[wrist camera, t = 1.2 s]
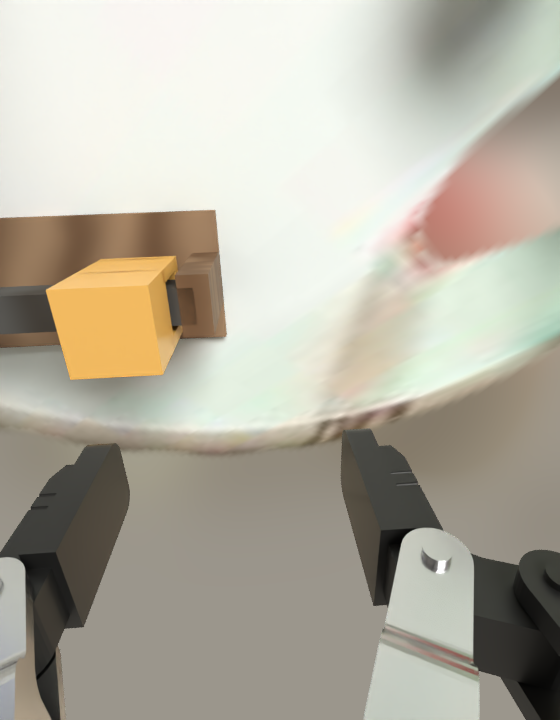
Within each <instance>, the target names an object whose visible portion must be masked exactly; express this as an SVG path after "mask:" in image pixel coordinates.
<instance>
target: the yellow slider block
mask: <svg viewBox="0 0 560 720" xmlns="http://www.w3.org/2000/svg"><path fill="white" fill-rule="evenodd" d="M177 272H178V268H177V260H176V256H163V257H139V258H115V259H100V260H98V261H97V262H95V263H93V264H91V265H89V266H88V267H86V268H84V269H82V270H80V271H79V272H77V273H75V274H73V275H72V276H70V277H68V278H66V279H64V280H63V281H61V282H59V283H57V284H55V285H54V286H52V287H50V288H48V289H46V293H47V297H48V300H49V304H50V308H51V311H52V315H53V318H54V322H55V326H56V329H57V333H58V336H59V340H60V344H61V347H62V351H63V355H64V358H65V362H66V365H67V369H68V373H69V376H70V380H75V379H94V378H113V377H132V376H151V375H163V374H164V371H165V369H166V367H167V365H168V363H169V360H170V358H171V356H172V354H173V352H174V350H175V347H176V345H177V343H178V341H179V339H180V336H181V334H182V332H183V331H182V326H172V324H171V317H170V310H169V304H168V297H167V290H166V284H165V282H166V281H167V280H175V274H176V273H177Z"/></svg>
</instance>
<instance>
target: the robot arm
mask: <svg viewBox="0 0 560 720" xmlns="http://www.w3.org/2000/svg"><path fill="white" fill-rule="evenodd" d="M341 485H342V492H343V497H344V500H345V504H346V508H347V511H348V515H349V518H350V522H351V526H352V529H353V533H354V536H355V540H356V544H357V547H358V551H359V555H360V558H361V562H362V566H363V569H364V573H365V576H366V580H367V584H368V587H369V591H370V595H371V598H372V602H373V605H374V606H378V605H387V606H388V612H387V618H386V622H385V627H384V629H383V630H382V633H381V638H380V642H379V646H378V651H377V656H376V661H375V666H374V670H373V676H372V681H371V685H370V690H369V695H368V699H367V704H366V709H365V714H364V719H363V720H479V672H478V671H481V672H485V673H489V674H492V675H496V676H499V677H501V679H502V680H503V682H504V684H505V686H506V687H507V689H508V690H509V692H510V694H511V696H512V697H513V699H514V701H515V702H516V704H517V706H518V707H519V709H520V711H521V712H522V714H523V716H524V717H525V719H526V720H560V553H557V552H554V551H548V550H534V551H530V552H528V553H526V554H525V555H524V556H523V557H522V558H521V560H520V562H519V565H514V564H509V563H505V562H500V561H495V560H490V559H486V558H481V557H478V556H476V555H473V554H471V553H470V552H469V550H468V549H467V547H466V546H465V545H464V544H463V543H462V542H461V541H460V540H459V539H457V538H456V537H454V536H453V535H451V534H449V533H447V532H445V531H443V528H442V527H441V525H440V523H439V521H438V519H437V517H436V515H435V513H434V511H433V510H432V508H431V506H430V504H429V502H428V500H427V498H426V497H425V494H424V493H423V491H422V489H421V487H420V485H418V481H417V479H416V478H415V476H414V474H413V473H412V470H411V468H410V466H409V464H408V462H407V461H406V459H405V457H404V456H403V455H402V454H401V453H399V452H398V451H397V450H396V449H395V448H393V447H392V446H390V445H389V446H378V444H377V441H376V439H375V437H374V435H373V433H372V431H371V429H353V430H343V434H342V455H341ZM129 499H130V490H129V484H128V481H127V477H126V472H125V468H124V464H123V460H122V455H121V451H120V448H119V446H118V445H117V444H116V443H114V444H98V445H87V446H86V447H85V448H84V450H83V451H82V453H81V455H80V456H79V458H78V459H77V461H76V463H75V464H74V465H66V466H65V467H63V468H62V469H61V470H60V471H59V472H57V473H56V474H55V475H54V476H52V477H51V478H50V479H49V481H48V482H47V484H46V485H45V486H44V488H43V490H42V491H41V493H40V494H39V497H37V498H36V500H35V501H34V503H33V504H32V506H31V510H29V511H28V512H27V513H26V515H25V516H24V518H23V519H22V521H21V523H20V524H19V525H18V527H17V528H16V530H15V531H14V533H13V534H12V536H11V537H10V539H9V540H8V542H7V543H6V545H5V546H4V548H3V549H2V551H1V552H0V720H66V713H65V700H64V688H63V676H62V664H61V653H60V649H59V647H58V643H59V640H60V638H61V635H62V633H63V631H64V629H65V628H77V627H84V624H85V622H86V619H87V616H88V614H89V611H90V609H91V606H92V603H93V600H94V598H95V595H96V593H97V590H98V587H99V585H100V582H101V579H102V577H103V574H104V571H105V569H106V566H107V563H108V561H109V558H110V555H111V553H112V550H113V547H114V545H115V542H116V539H117V537H118V534H119V532H120V529H121V526H122V524H123V521H124V518H125V516H126V513H127V510H128V506H129Z"/></svg>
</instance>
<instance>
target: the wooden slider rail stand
mask: <svg viewBox="0 0 560 720" xmlns="http://www.w3.org/2000/svg"><path fill="white" fill-rule="evenodd" d="M163 256H176V260H177V268H178V272H177V273H176V274H175V280H167V281H166V282H165V284H166V290H167V297H168V304H169V310H170V317H171V324H172V326H182V331H183V332H182V334H181V336H180V339H185V338H205V337H225V336H226V335H227V332H226V321H225V311H224V300H223V289H222V278H221V267H220V256H219V245H218V235H217V224H216V213H215V210H201V211H175V212H148V213H122V214H95V215H69V216H42V217H16V218H0V348H4V347H24V346H44V345H61V344H60V340H59V336H58V333H57V329H56V326H55V322H54V318H53V315H52V311H51V308H50V304H49V300H48V297H47V293H46V289H48V288H50V287H52V286H54V285H55V284H57V283H59V282H61V281H63V280H64V279H66V278H68V277H70V276H72V275H73V274H75V273H77V272H79V271H80V270H82V269H84V268H86V267H88V266H89V265H91V264H93V263H95V262H97V261H98V260H100V259H115V258H139V257H163Z"/></svg>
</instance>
